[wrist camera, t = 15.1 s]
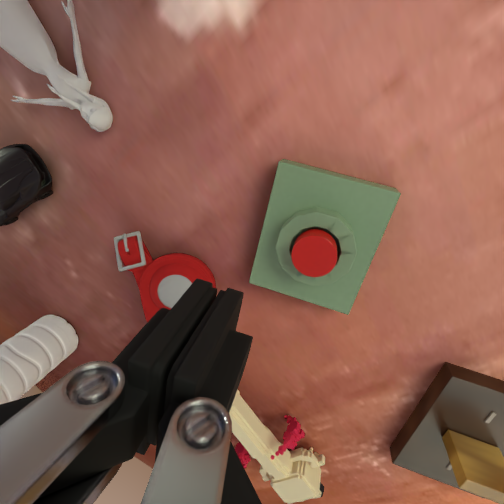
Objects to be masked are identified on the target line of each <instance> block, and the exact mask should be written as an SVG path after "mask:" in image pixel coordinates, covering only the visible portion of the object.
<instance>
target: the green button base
mask: <svg viewBox="0 0 504 504" xmlns="http://www.w3.org/2000/svg"><path fill="white" fill-rule="evenodd" d="M400 194H401V193H400V192H399V191H398V190H397V189H396V188H393V187H389V186H385V185H381V184H378V183H374V182H370V181H366V180H362V179H359V178H355V177H351V176H347V175H343V174H339V173H336V172H332V171H328V170H324V169H320V168H316V167H313V166H309V165H305V164H301V163H297V162H294V161H290V160H286V159H282V160H281V161H279V163H278V167H277V171H276V175H275V179H274V183H273V187H272V191H271V195H270V200H269V204H268V208H267V212H266V216H265V220H264V224H263V228H262V232H261V236H260V240H259V244H258V248H257V252H256V256H255V260H254V264H253V268H252V272H251V276H250V280H249V283H251V284H255V285H258V286H261V287H264V288H267V289H270V290H273V291H276V292H279V293H282V294H286V295H289V296H292V297H295V298H298V299H301V300H304V301H307V302H310V303H313V304H316V305H320V306H323V307H326V308H329V309H332V310H335V311H338V312H341V313H344V314H347V315H348V314H349V312H350V310H351V308H352V305H353V303H354V301H355V298H356V296H357V294H358V291H359V289H360V287H361V284H362V282H363V280H364V278H365V275H366V273H367V271H368V268H369V266H370V264H371V261H372V259H373V257H374V254H375V252H376V250H377V247H378V245H379V243H380V241H381V238H382V236H383V234H384V231H385V229H386V227H387V224H388V222H389V220H390V217H391V215H392V213H393V211H394V208H395V206H396V204H397V201H398V199H399V197H400ZM311 229H319V230H323V231H325V232H327V233H329V234H330V235H331V236H332V237H333V238H334V240H335V242H336V245H337V262H336V265H335V267H334V268H333V269H332V271H330V272H329V273H328V274H326V275H324V276H321V277H309V276H306V275H304V274H302V273H300V272H299V271H298V270H297V269H296V268H295V266H294V265H293V262H292V258H291V253H292V249H293V246H294V243H295V241H296V239H297V238H298V236H299V235H300V234H302V233H303V232H305V231H307V230H311Z"/></svg>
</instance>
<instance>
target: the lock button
mask: <svg viewBox="0 0 504 504" xmlns="http://www.w3.org/2000/svg"><path fill="white" fill-rule="evenodd" d="M291 258H292V262H293V265H294V266H295V268H296V269H297V270H298V271H299V272H300V273H302V274H304V275H306V276H309V277H321V276H324V275H326V274H328V273H329V272H330V271H332V269H333V268H334V267H335V265H336V262H337V245H336V242H335V240H334V238H333V237H332V236H331V235H330V234H329V233H327V232H325V231H323V230H319V229H311V230H307V231H305V232H303V233H302V234H300V235H299V236H298V238H297V239H296V241H295V243H294V246H293V249H292V253H291Z"/></svg>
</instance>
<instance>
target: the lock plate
mask: <svg viewBox="0 0 504 504" xmlns="http://www.w3.org/2000/svg"><path fill="white" fill-rule="evenodd" d="M447 430H451V431H454V432H457V433H459V434H462V435H465V436H468V437H470V438H473V439H476V440H479V441H481V442H484V443H487V444H490V445H492V446H495V447H498V448H499V449H500V451H501V453H502V455H503V457H504V381H502V380H499V379H496V378H493V377H490V376H486V375H483V374H480V373H477V372H474V371H471V370H468V369H465V368H462V367H459V366H456V365H453V364H450V363H447V362H445V364H444V365H443V367H442V368H441V370H440V371H439V373H438V374H437V376H436V377H435V379H434V381H433V382H432V384H431V385H430V387H429V388H428V390H427V391H426V393H425V394H424V396H423V397H422V399H421V400H420V402H419V403H418V405H417V407H416V408H415V410H414V411H413V413H412V414H411V416H410V417H409V419H408V420H407V422H406V423H405V425H404V426H403V428H402V429H401V431H400V433H399V434H398V436H397V437H396V439H395V440H394V442H393V443H392V445H391V446H390V451H391V457H392V463H393V464H395V465H398V466H401V467H403V468H406V469H408V470H411V471H414V472H416V473H419V474H422V475H424V476H427V477H429V478H432V479H435V480H437V481H440V482H443V483H445V484H448V485H450V486H453V487H456V488H458V489H460V488H459V486H458V483H457V481H456V478H455V475H454V472H453V469H452V466H451V463H450V460H449V457H448V454H447V451H446V448H445V446H444V443H443V440H442V437H443V435H444V434H445V433H446V431H447ZM461 490H463V489H461ZM464 491H466V490H464ZM466 492H468V491H466ZM469 493H471V492H469ZM471 494H473V493H471ZM474 495H476V494H474ZM477 496H479V495H477ZM479 497H481V496H479ZM482 498H484V497H482Z"/></svg>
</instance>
